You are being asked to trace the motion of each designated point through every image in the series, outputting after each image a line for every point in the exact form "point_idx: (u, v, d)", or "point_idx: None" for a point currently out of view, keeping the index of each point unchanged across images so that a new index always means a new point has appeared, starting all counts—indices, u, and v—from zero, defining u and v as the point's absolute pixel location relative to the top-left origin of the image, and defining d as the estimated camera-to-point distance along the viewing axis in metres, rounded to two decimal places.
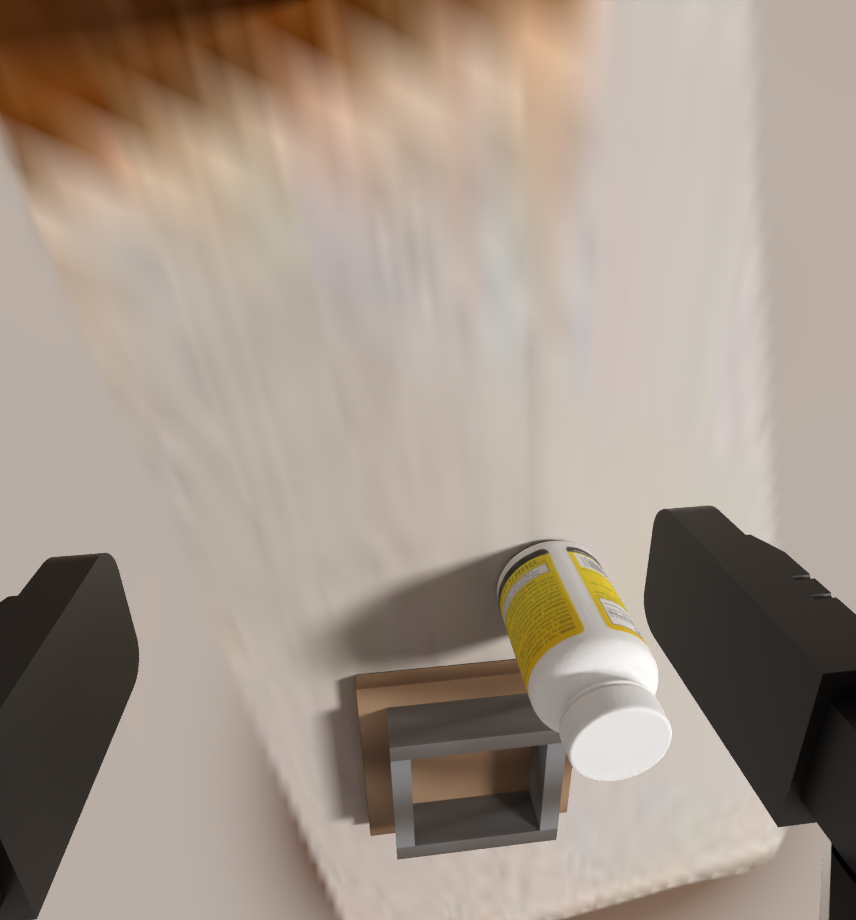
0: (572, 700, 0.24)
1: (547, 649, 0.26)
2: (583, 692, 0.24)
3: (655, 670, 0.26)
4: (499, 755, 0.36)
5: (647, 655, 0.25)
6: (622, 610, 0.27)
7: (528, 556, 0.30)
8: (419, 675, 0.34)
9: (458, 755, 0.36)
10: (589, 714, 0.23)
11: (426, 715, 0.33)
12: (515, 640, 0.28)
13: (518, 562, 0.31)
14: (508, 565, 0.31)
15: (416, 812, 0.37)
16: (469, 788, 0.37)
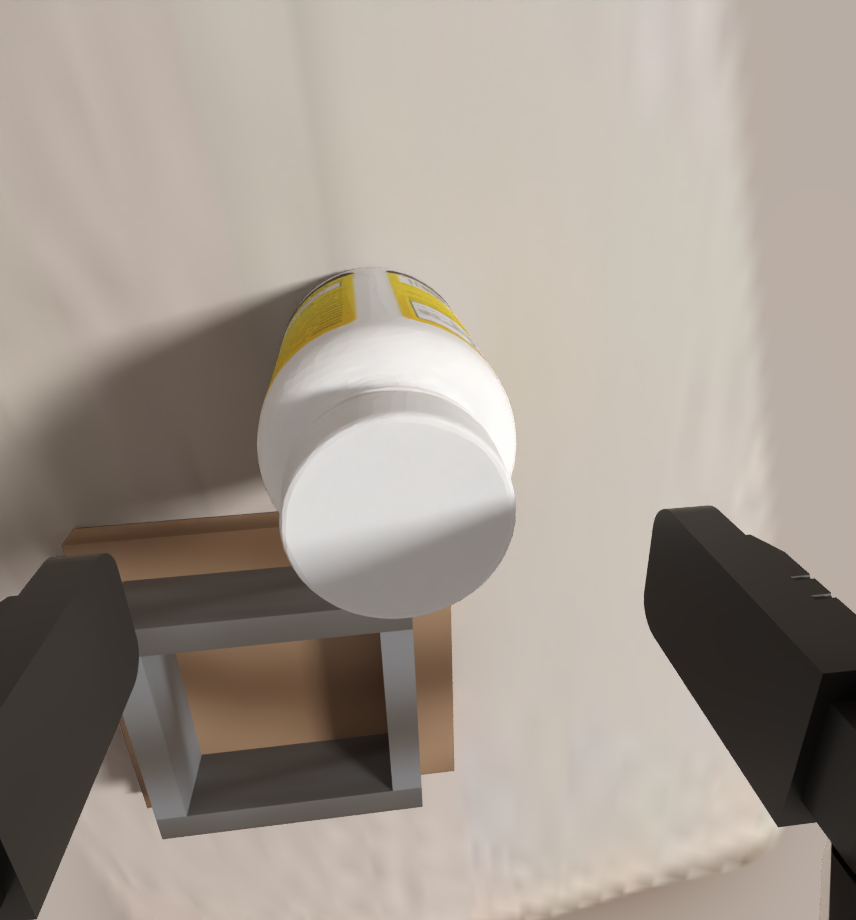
0: (302, 435, 0.11)
1: (284, 365, 0.13)
2: None
3: (502, 405, 0.13)
4: (332, 673, 0.23)
5: (483, 369, 0.12)
6: (457, 325, 0.14)
7: (321, 285, 0.17)
8: (177, 527, 0.21)
9: (263, 671, 0.23)
10: (316, 438, 0.10)
11: (182, 589, 0.20)
12: None
13: (305, 298, 0.18)
14: (295, 311, 0.18)
15: (206, 766, 0.24)
16: (291, 729, 0.24)
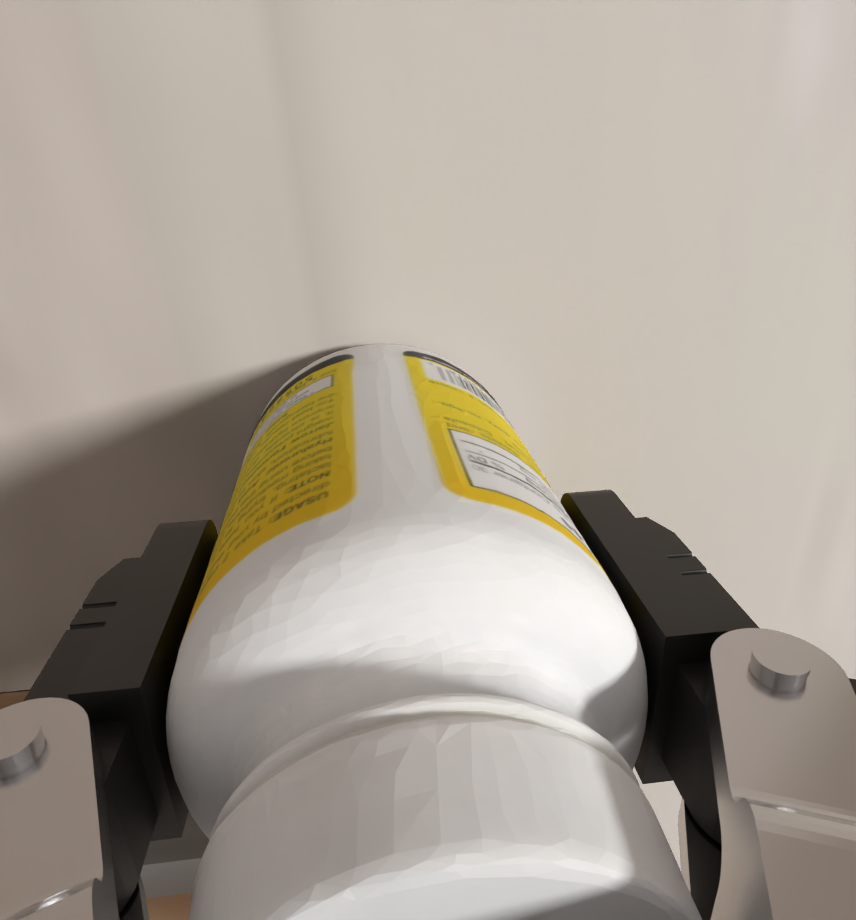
0: (235, 795, 0.05)
1: (216, 581, 0.07)
2: (285, 756, 0.05)
3: (635, 661, 0.07)
4: None
5: (601, 599, 0.06)
6: (529, 472, 0.08)
7: (304, 373, 0.11)
8: None
9: None
10: (254, 887, 0.04)
11: None
12: None
13: (280, 392, 0.12)
14: None
15: None
16: None
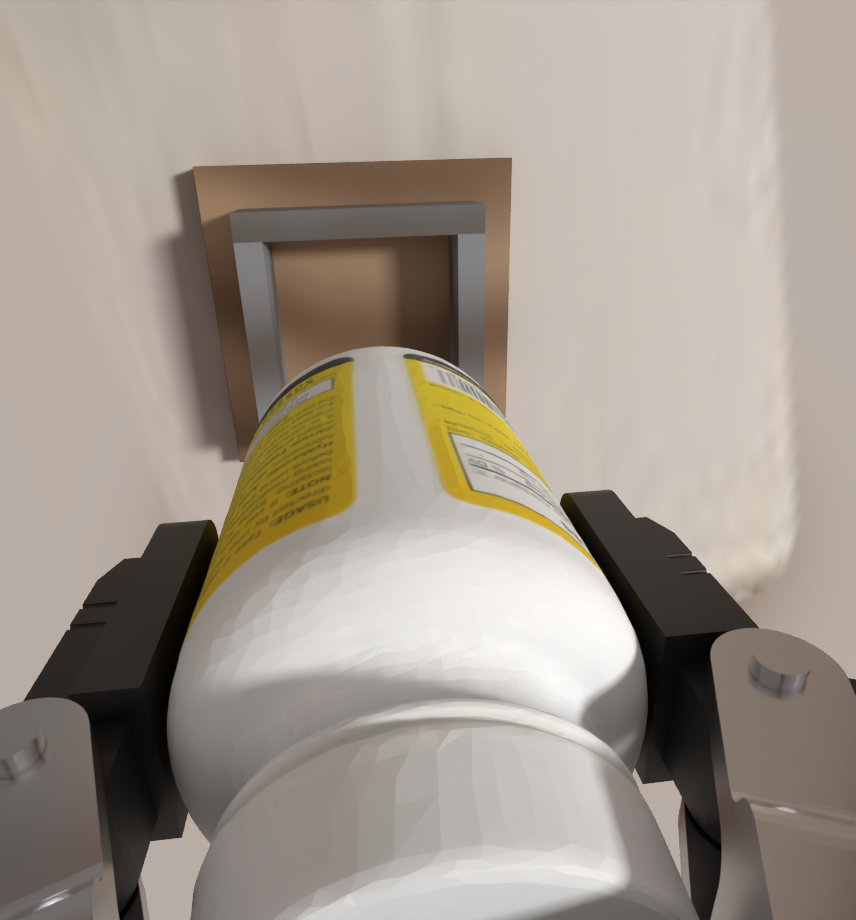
0: (236, 799, 0.05)
1: (218, 584, 0.07)
2: (286, 761, 0.05)
3: (635, 665, 0.07)
4: (406, 324, 0.27)
5: (601, 603, 0.06)
6: (529, 475, 0.08)
7: (304, 376, 0.11)
8: None
9: (348, 317, 0.27)
10: (257, 892, 0.04)
11: (291, 208, 0.24)
12: None
13: (280, 394, 0.12)
14: None
15: None
16: None
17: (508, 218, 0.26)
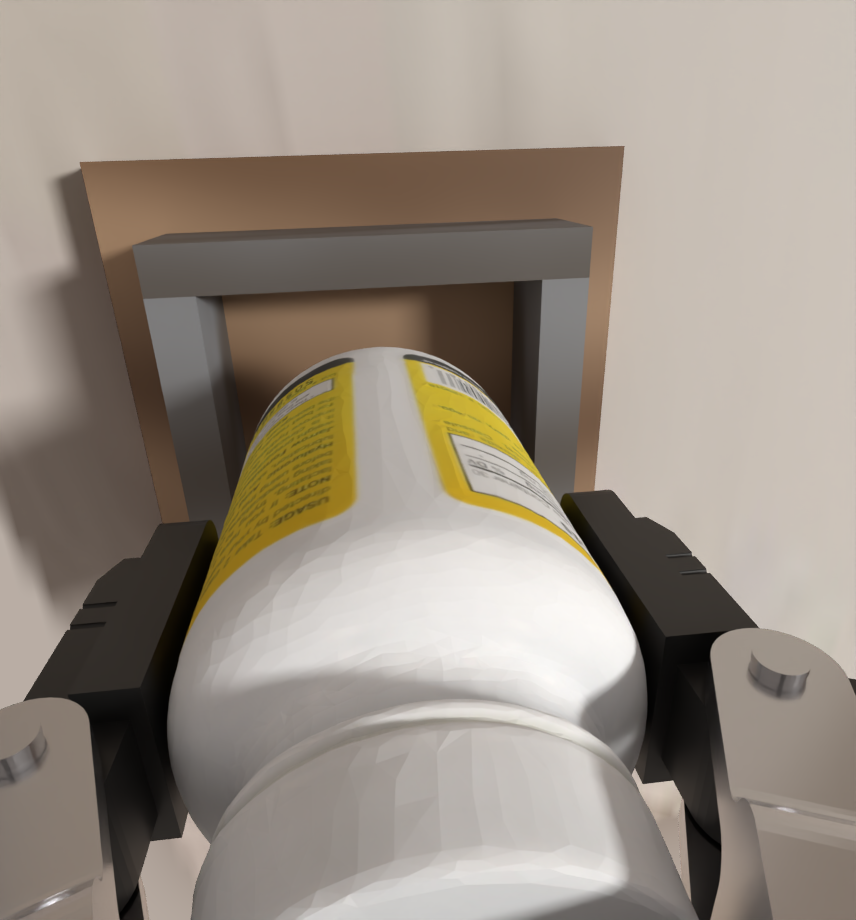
0: (236, 800, 0.05)
1: (217, 584, 0.07)
2: (286, 761, 0.05)
3: (635, 666, 0.07)
4: None
5: (601, 604, 0.06)
6: (529, 476, 0.08)
7: (304, 376, 0.11)
8: None
9: None
10: (257, 893, 0.04)
11: (252, 233, 0.14)
12: None
13: (280, 395, 0.12)
14: None
15: None
16: None
17: (612, 246, 0.16)
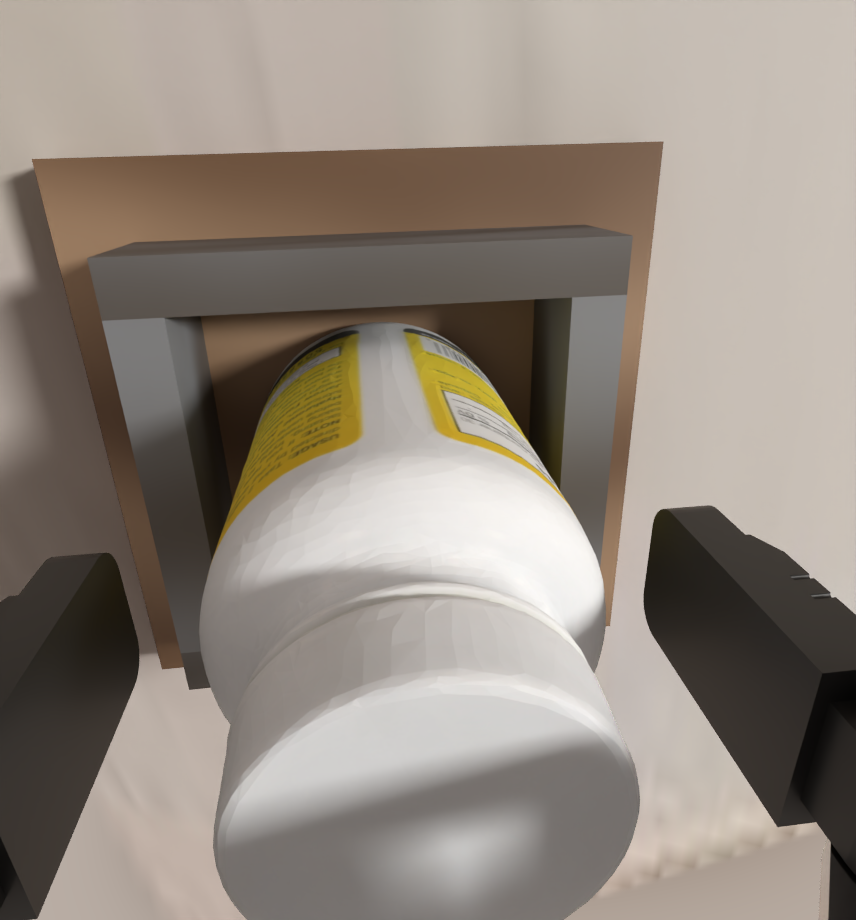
0: (264, 660, 0.06)
1: (245, 505, 0.08)
2: None
3: (593, 579, 0.08)
4: None
5: (565, 524, 0.08)
6: (511, 428, 0.10)
7: (314, 346, 0.13)
8: None
9: None
10: (284, 707, 0.05)
11: (233, 242, 0.12)
12: None
13: (292, 363, 0.13)
14: None
15: None
16: None
17: (647, 256, 0.14)
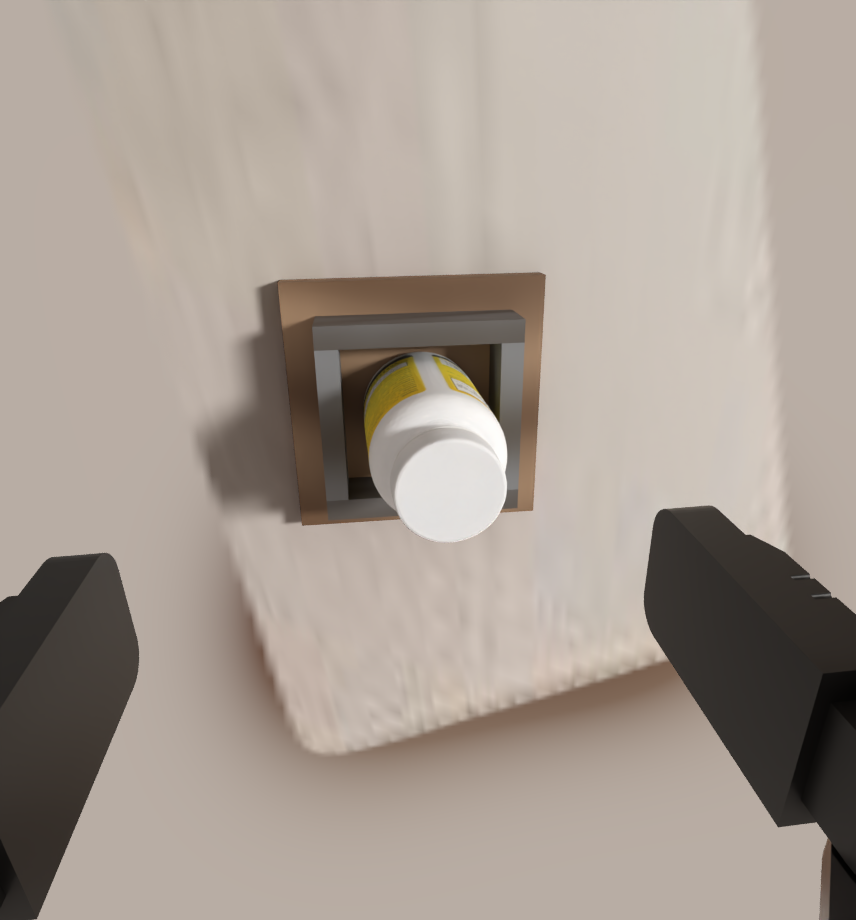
0: (402, 447, 0.23)
1: (387, 411, 0.24)
2: (414, 439, 0.23)
3: (501, 437, 0.24)
4: None
5: (491, 418, 0.24)
6: (476, 392, 0.26)
7: (392, 362, 0.29)
8: (353, 279, 0.29)
9: None
10: (414, 448, 0.22)
11: (360, 317, 0.28)
12: (366, 430, 0.27)
13: (382, 369, 0.29)
14: (373, 376, 0.30)
15: (354, 482, 0.32)
16: None
17: (541, 323, 0.30)
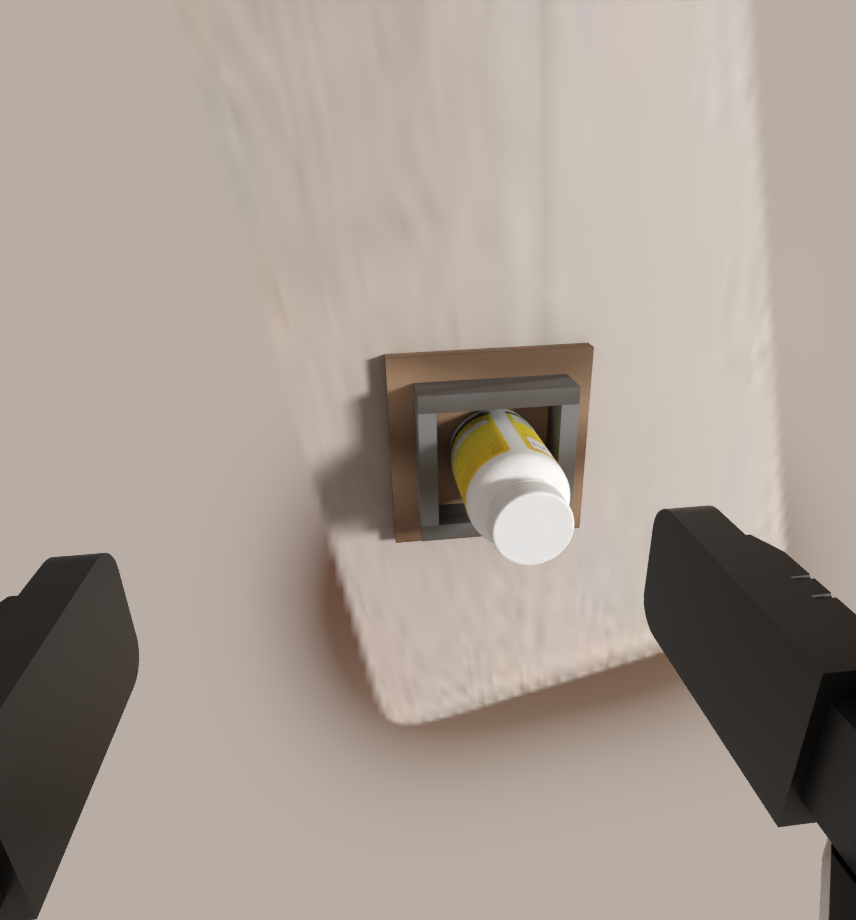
0: (496, 495, 0.31)
1: (481, 466, 0.32)
2: (505, 489, 0.31)
3: (566, 484, 0.32)
4: None
5: (559, 470, 0.32)
6: (544, 447, 0.34)
7: (473, 417, 0.37)
8: (443, 353, 0.37)
9: None
10: (508, 498, 0.30)
11: (450, 385, 0.36)
12: (458, 475, 0.35)
13: (465, 422, 0.37)
14: (458, 427, 0.38)
15: (439, 509, 0.40)
16: None
17: (589, 383, 0.38)
